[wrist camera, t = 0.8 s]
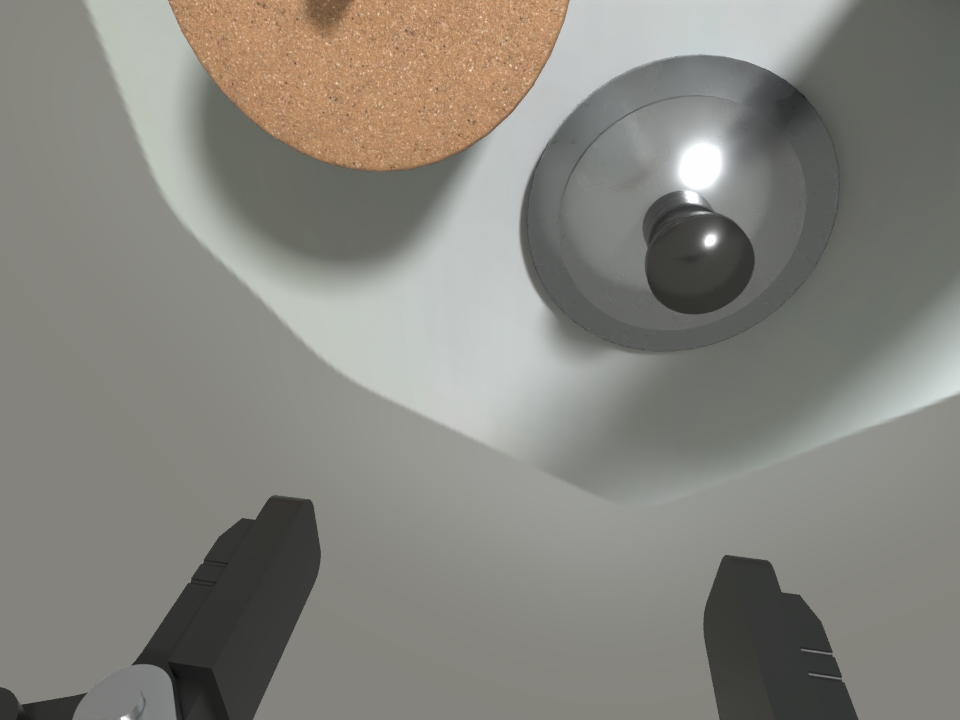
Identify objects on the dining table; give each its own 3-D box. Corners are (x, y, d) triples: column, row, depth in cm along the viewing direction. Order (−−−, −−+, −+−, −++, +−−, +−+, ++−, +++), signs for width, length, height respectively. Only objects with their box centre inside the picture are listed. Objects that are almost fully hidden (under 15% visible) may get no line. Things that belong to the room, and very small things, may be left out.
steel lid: (806, -6, 24) (882, -9, 18) (848, 295, 30) (915, 365, 24) (485, 129, 28) (465, 162, 22) (578, 371, 34) (582, 446, 28)
